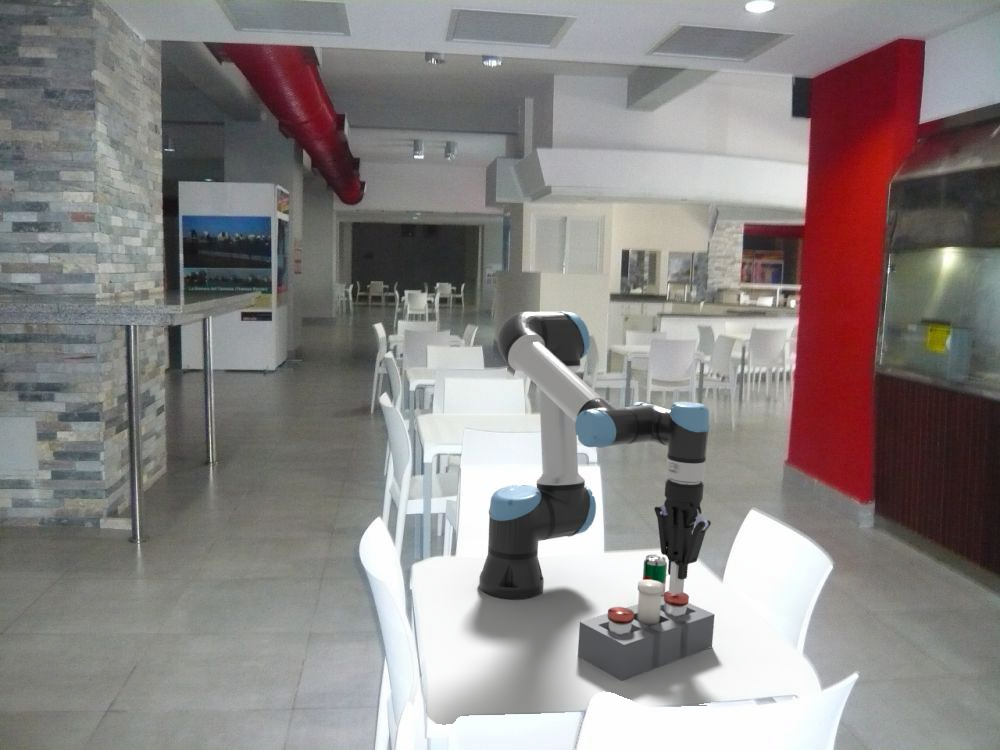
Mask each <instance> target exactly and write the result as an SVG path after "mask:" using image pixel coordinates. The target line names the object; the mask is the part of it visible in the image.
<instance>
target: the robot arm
mask: <svg viewBox="0 0 1000 750" xmlns="http://www.w3.org/2000/svg"><path fill="white" fill-rule="evenodd" d="M590 343H591V338H590V332H589V329H588V326H587V325H586V323H585V321H584V320H583V319H582V318H581V317H580V315H578V314H576V313H574V312H570V311H559V310H557V311H520V312H517V313H514V314H512V315H510V316H509V317H507V318H506V320H505V321H503V323H502V325H500V328H499V331H498V334H497V348H498V351H499V353H500V355H501V357H502V360H504V362H506V363H507V364H508V366H510V367H511V369H512V370H515V371H518V372H522V373H523V374H525V376H526V377H527V378H529V379H530V380H531V381H532V382H533V383H534V384H535V385H536V386H537V387H538V388H539V391H538V392H539V410H540V411H539V413H540V414H539V415H540V436H541V437H540V440H541V443H540V444H541V463H542V464H541V465H542V469H541V470H542V474H541V476H540V477H539V478H537V480H536V486H533V485H527V484H521V485H518V484H514V485H510V486H505V487H502V488H500V489H498V490H496V491H495V492H494V493H493V494H492V496H491V497H490V502H489V503H490V504H489V508H488V515H489V519H488V520H489V521H488V522H489V523H488V545H487V556H486V558H485V561H484V565H483V568H482V571H481V572H480V574H479V580H478V581H479V582H478V583H479V584H478V586H479V589H480V590H481V591H482V592H484V593H486V594H488V595H490V596H493V597H495V598H496V597H498V598H502V599H510V600H512V599H514V600H516V599H517V600H518V599H519V600H521V599H527V598H533V597H536V596H539V595H540V594H541V593H542V592H543V590H544V585H545V584H544V583H545V582H544V580H545V579H544V576H543V572H542V568H541V564H540V561H539V557H538V555H539V554H538V551H539V550H538V549H539V542H541V541H546V540H551V539H558V538H563V537H573V536H576V535H580V534H582V533H585V532H586V531H587V530H589V528H590V527H591V526H592V524H593V522H594V520H595V518H596V512H597V503H596V499H595V496H594V495H593V491H592V490H591V488H589V487H588V486H586V483H585V481H586V480H585V478H584V477H583V476H581V475H580V473H579V466H578V465H579V463H578V462H579V461H578V460H579V459H578V458H579V457H578V441H579V442H580V444H581V445H582V446H585V447H587V448H599V449H600V448H601V449H602V448H607V447H613V446H620V445H631V444H640V443H650V442H652V443H657V444H660V445H663V446H666V447H667V459H666V472H665V474H666V475H665V476H666V477H667V479H666V480H665V483H664V497H665V500H664V503H663V504H661V505H659V506H655V507H654V508H653V509H654V514H655V515H656V518H657V525H658V526H657V527H658V535H659V545H660V552H661V555H662V556H666V557H667V560H668V563H667V575H669V583H668V585H669V586H668V591H669V593H671V594H674V595H675V594H679V593H682V592H684V585H685V579H687V577H688V571H689V570H688V569H689V568H688V567H689V564H693V563H697V561H698V559H699V555H700V552H701V548H702V545H703V542H704V538H705V535H706V531H708V529H709V528H710V526H712V525H711V524H712V522H711V520H709V519H705V517H703V515H702V508H701V504H702V501H703V497H704V483H703V481H704V480H705V475H706V460H707V459H706V458H707V457H706V456H707V445H708V436H709V430H710V424H709V422H710V419H709V418H710V411H709V408H708V406H706V405H705V404H703V403H700V402H691V401H676V402H674V403H672V404H671V407H670V408H669V407H665V406H661V405H658V404H655V403H653V402H643V401H637V402H634V403H633V404H631V405H630V406H625V407H624V406H622V407H613V406H612V405H611V404H609V402H607V401H606V400H605V399H604V398H603V397H602V396H601V395H600V394H598V393H597V392H596V391H595V390H594V389H593V388H592V387H591V386H590V385H588V384H587V383H586V382H585V381H584V380H583V379H581V377H580V376H578V375H577V374H576V373H577V371H578V370H579V369H580V368H581V359H583V358H585V357H586V355H587V354H588V350H589V349H590Z"/></svg>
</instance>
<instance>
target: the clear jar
mask: <svg viewBox="0 0 1000 750" xmlns="http://www.w3.org/2000/svg"><path fill="white" fill-rule="evenodd" d="M689 600H690V596H689V594H687V593H685V592H684V591H683V592H682V593H679V594H675V595H674V594H671V593H669V590H666V591H665V593H664V601H665V607H664V612H665V613H668V614H670V615H672V616H674V617H676V618H677V617H681V616H684V615H686V609H687V604H688V603H689Z"/></svg>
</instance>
